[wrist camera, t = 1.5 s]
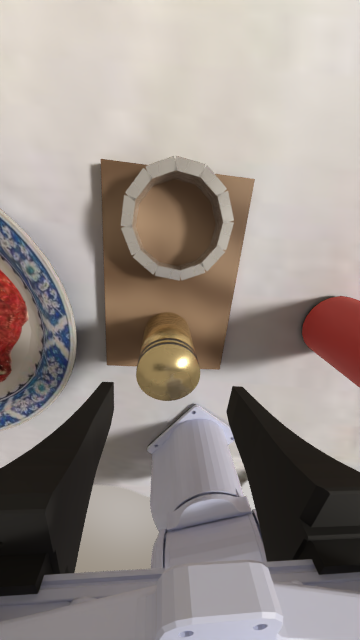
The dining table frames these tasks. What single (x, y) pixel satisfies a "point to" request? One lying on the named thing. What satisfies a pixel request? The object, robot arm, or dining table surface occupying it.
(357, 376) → the beer can
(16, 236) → the ceramic plate
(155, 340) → the piston
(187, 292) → the walnut board
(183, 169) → the ring collar
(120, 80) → the dining table surface
